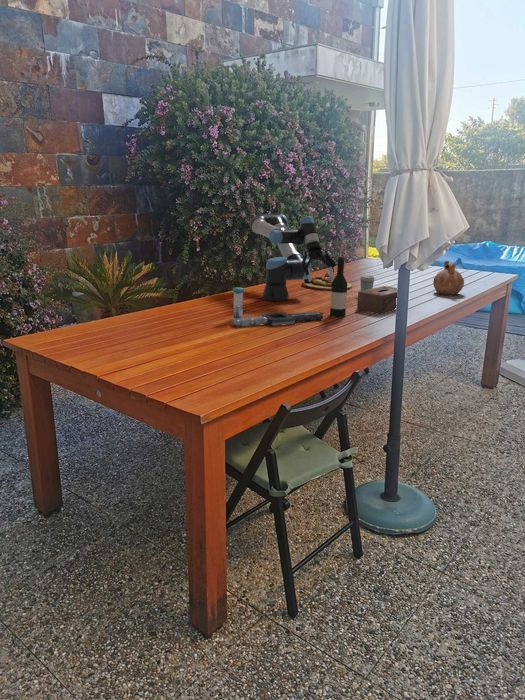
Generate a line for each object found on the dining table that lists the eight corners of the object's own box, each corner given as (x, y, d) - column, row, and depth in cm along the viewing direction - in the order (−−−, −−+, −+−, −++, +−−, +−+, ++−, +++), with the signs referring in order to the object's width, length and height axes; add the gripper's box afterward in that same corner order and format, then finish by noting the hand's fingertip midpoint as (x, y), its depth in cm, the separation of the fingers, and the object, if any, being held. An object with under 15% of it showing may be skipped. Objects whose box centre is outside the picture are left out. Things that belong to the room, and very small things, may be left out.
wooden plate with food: (297, 289, 355) (297, 276, 352) (308, 280, 384) (308, 268, 381) (347, 294, 346) (348, 280, 344) (354, 284, 375) (355, 272, 373)
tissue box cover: (380, 314, 292) (381, 295, 289) (356, 310, 301) (358, 291, 298) (405, 307, 310) (407, 289, 307) (382, 303, 319) (384, 285, 316)
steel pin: (230, 318, 276) (231, 287, 272) (241, 317, 278) (241, 287, 274) (234, 320, 271) (235, 289, 267) (245, 320, 273) (245, 289, 269)
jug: (466, 297, 340) (471, 264, 334) (436, 296, 340) (440, 263, 334) (457, 291, 358) (461, 259, 352) (428, 290, 358) (432, 259, 352)
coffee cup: (373, 298, 331) (374, 278, 327) (358, 297, 332) (359, 277, 329) (373, 295, 339) (374, 275, 335) (359, 294, 340) (360, 274, 337)
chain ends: (228, 323, 267) (229, 317, 266) (314, 315, 285) (314, 310, 284) (238, 329, 256) (238, 323, 255) (325, 321, 274) (326, 315, 273)
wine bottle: (333, 317, 282) (336, 257, 273) (326, 313, 290) (330, 255, 281) (348, 317, 284) (352, 257, 275) (341, 313, 292) (345, 255, 283)
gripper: (294, 241, 295) (303, 278, 290) (335, 239, 305) (345, 275, 300) (289, 247, 302) (298, 284, 297) (329, 246, 311) (339, 281, 306)
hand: (321, 279), depth 298 cm, fingers open, 13 cm apart
